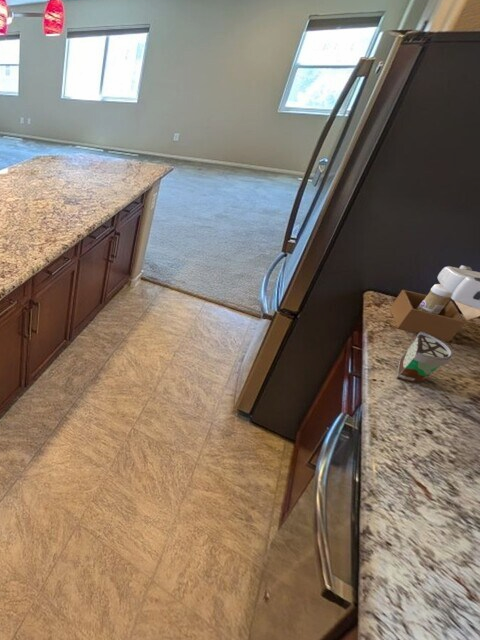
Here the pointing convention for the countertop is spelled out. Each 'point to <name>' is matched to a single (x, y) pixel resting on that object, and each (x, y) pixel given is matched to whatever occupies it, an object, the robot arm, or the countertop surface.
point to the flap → (468, 311)
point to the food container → (422, 358)
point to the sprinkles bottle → (435, 300)
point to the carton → (425, 317)
